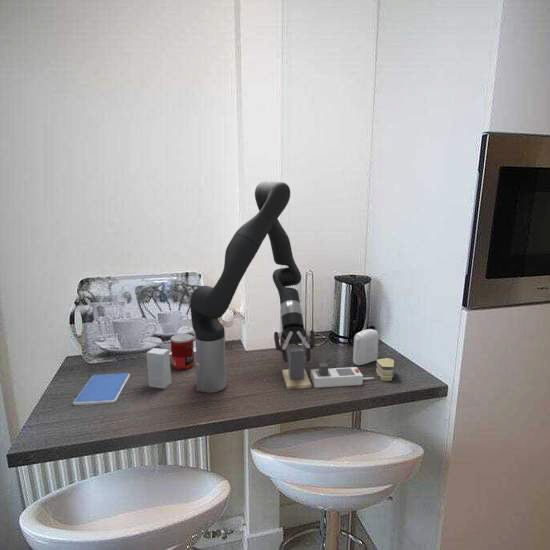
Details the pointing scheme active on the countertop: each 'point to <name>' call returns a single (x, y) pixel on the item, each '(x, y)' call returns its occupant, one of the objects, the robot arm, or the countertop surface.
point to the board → (296, 381)
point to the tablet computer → (102, 389)
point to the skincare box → (159, 368)
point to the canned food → (182, 351)
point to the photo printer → (365, 347)
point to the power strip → (336, 376)
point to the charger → (296, 363)
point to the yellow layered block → (385, 369)
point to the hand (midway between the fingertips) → (297, 361)
